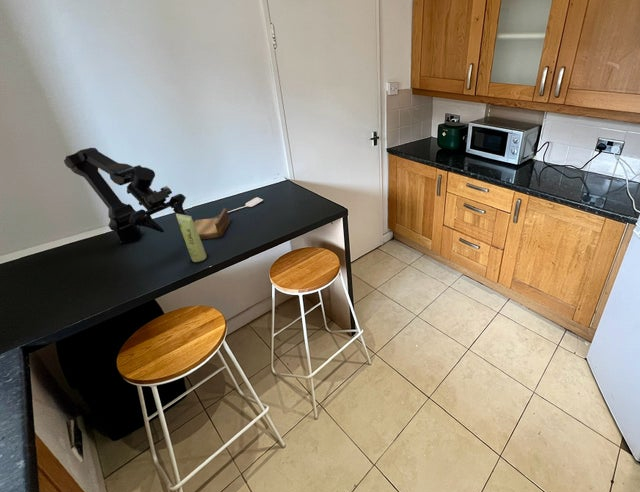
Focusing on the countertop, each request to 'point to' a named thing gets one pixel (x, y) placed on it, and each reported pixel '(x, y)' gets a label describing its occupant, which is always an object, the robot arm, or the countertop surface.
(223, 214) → the wooden stand
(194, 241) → the tube
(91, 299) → the countertop surface
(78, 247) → the countertop surface
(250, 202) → the spatula
